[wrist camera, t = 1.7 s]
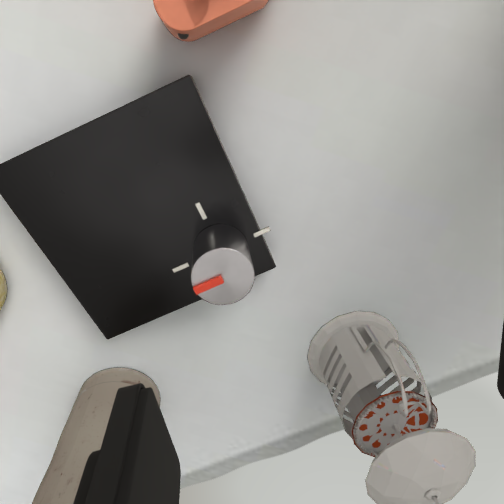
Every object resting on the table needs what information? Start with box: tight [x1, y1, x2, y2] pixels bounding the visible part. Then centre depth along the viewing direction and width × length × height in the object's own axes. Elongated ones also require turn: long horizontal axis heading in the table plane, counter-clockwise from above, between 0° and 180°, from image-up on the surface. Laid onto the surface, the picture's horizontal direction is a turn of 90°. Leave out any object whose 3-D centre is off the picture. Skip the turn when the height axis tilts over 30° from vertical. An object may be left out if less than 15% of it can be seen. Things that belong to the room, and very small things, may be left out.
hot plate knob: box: [191, 224, 255, 305], centre depth 28 cm, size 4×4×5 cm
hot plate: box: [0, 75, 276, 339], centre depth 31 cm, size 17×17×3 cm
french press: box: [307, 311, 476, 504], centre depth 28 cm, size 10×12×25 cm
